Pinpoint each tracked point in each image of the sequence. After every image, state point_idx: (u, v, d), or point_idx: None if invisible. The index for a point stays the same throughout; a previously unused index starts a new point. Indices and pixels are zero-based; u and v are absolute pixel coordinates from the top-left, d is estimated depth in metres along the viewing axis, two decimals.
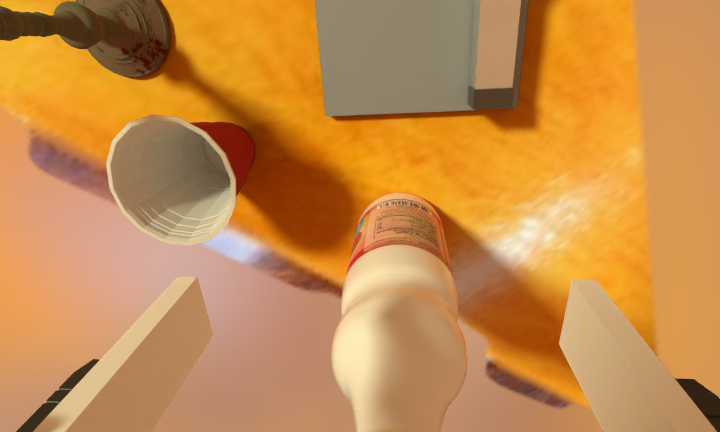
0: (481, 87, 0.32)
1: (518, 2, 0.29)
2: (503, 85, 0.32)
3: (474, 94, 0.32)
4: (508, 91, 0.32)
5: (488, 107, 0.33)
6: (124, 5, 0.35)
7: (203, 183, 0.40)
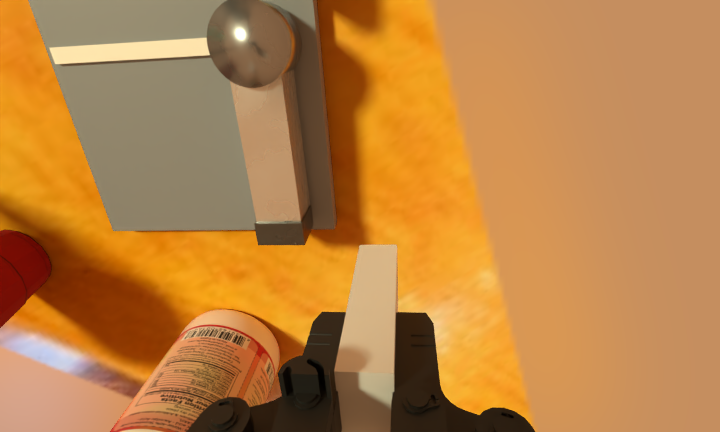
0: (263, 221, 0.25)
1: (285, 127, 0.23)
2: (289, 219, 0.25)
3: (256, 228, 0.26)
4: (295, 227, 0.25)
5: (276, 243, 0.26)
6: None
7: None
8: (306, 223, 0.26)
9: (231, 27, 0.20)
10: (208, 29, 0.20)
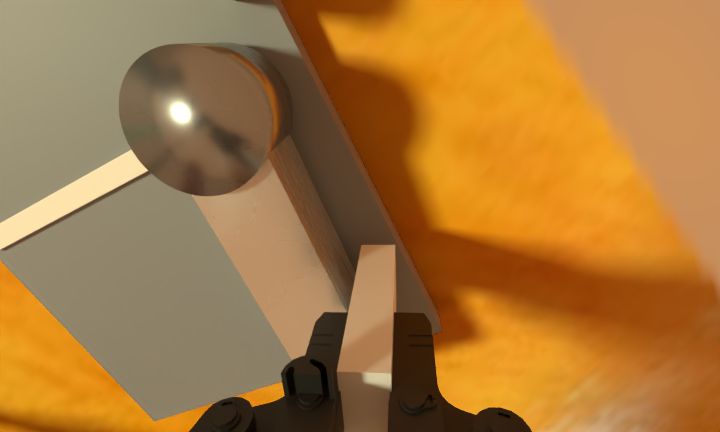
0: None
1: (302, 235, 0.13)
2: None
3: None
4: None
5: None
6: None
7: None
8: None
9: (156, 106, 0.11)
10: (122, 123, 0.12)
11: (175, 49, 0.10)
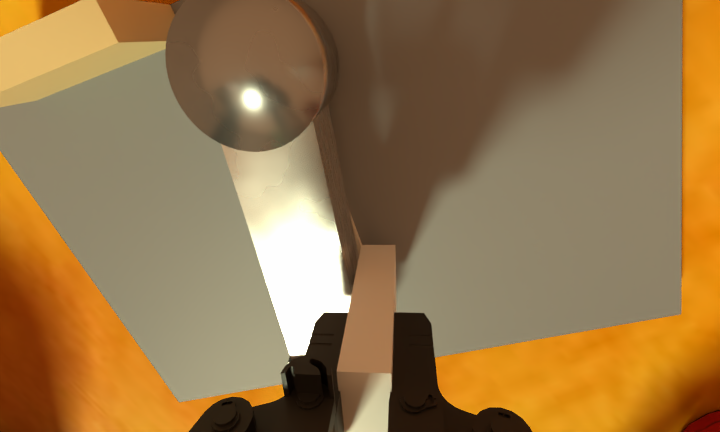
0: None
1: (327, 210, 0.13)
2: None
3: None
4: None
5: None
6: None
7: None
8: None
9: (210, 44, 0.10)
10: (166, 54, 0.11)
11: None
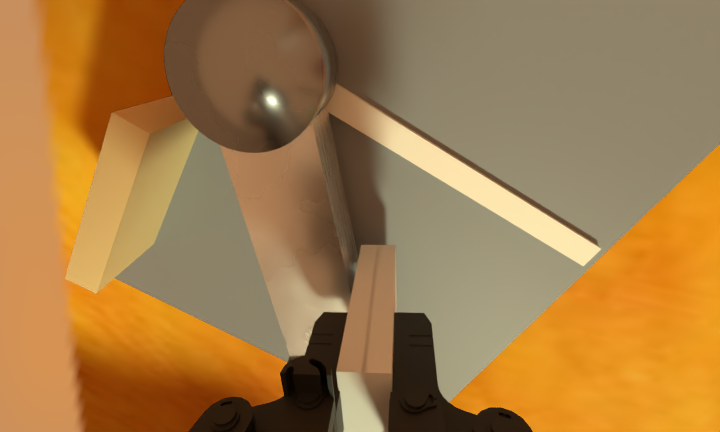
0: None
1: (326, 211, 0.13)
2: None
3: None
4: None
5: None
6: None
7: None
8: None
9: (209, 45, 0.10)
10: (165, 54, 0.11)
11: None
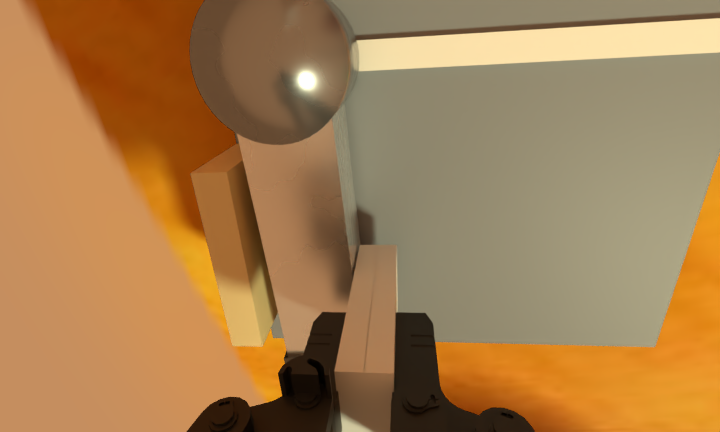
0: (298, 353, 0.15)
1: (338, 208, 0.13)
2: None
3: None
4: None
5: None
6: None
7: None
8: None
9: (236, 33, 0.10)
10: (191, 39, 0.11)
11: None
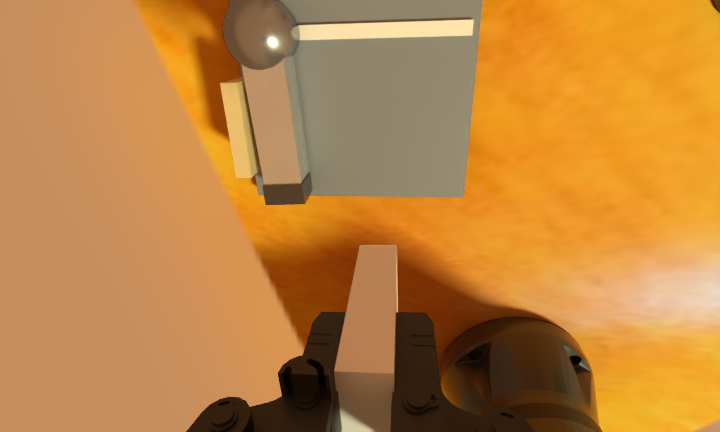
0: (269, 183, 0.30)
1: (287, 102, 0.28)
2: (291, 182, 0.30)
3: (264, 190, 0.31)
4: (297, 188, 0.30)
5: (280, 203, 0.31)
6: None
7: None
8: (306, 186, 0.31)
9: (242, 20, 0.25)
10: (223, 22, 0.25)
11: None
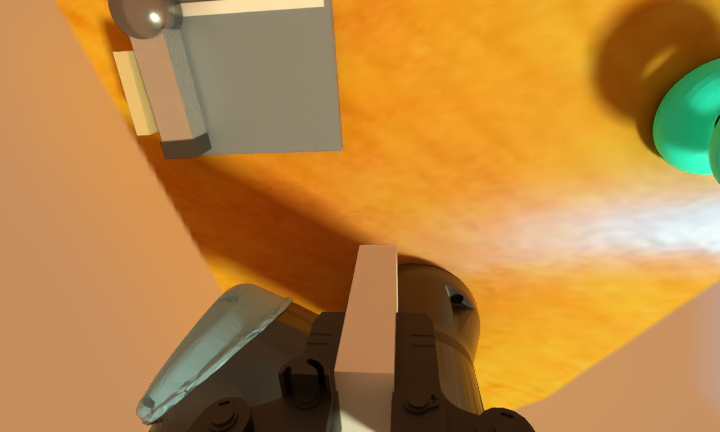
0: (166, 140, 0.36)
1: (170, 67, 0.33)
2: (184, 137, 0.35)
3: (162, 146, 0.36)
4: (189, 143, 0.35)
5: (177, 157, 0.36)
6: None
7: None
8: (200, 142, 0.36)
9: None
10: None
11: None
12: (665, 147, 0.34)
